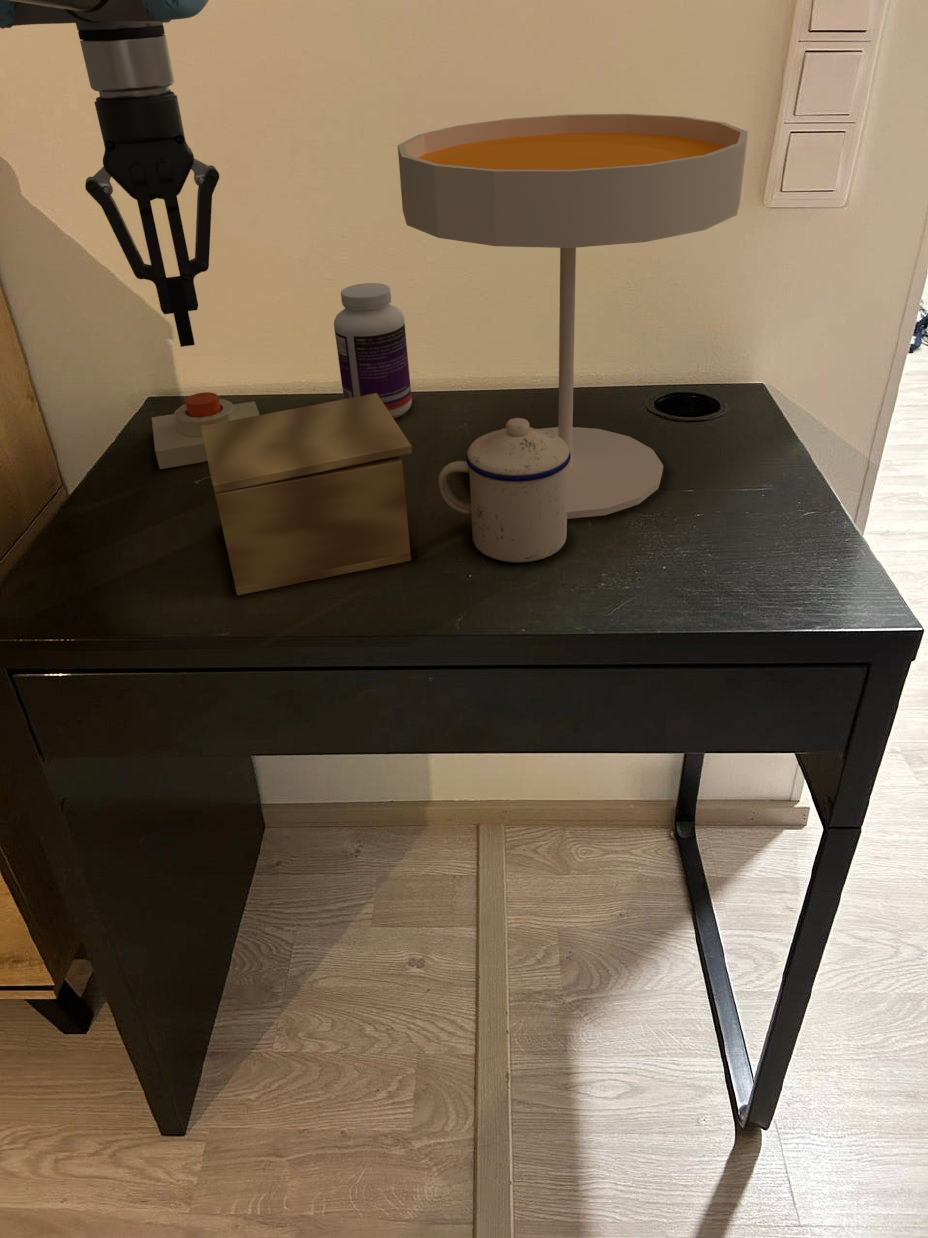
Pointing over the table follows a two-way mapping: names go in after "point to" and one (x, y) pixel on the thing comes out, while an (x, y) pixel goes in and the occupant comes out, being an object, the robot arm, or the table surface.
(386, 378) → the pill bottle
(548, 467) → the teacup with lid
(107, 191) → the robot arm
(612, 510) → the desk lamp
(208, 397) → the button
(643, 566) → the table surface
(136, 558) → the table surface
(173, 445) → the button box
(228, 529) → the lid box
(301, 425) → the wooden box lid
